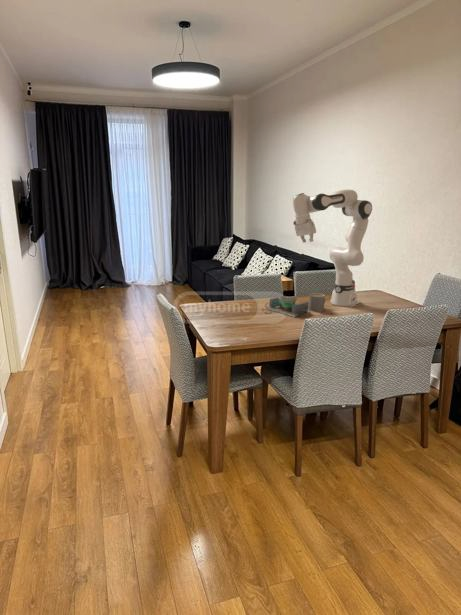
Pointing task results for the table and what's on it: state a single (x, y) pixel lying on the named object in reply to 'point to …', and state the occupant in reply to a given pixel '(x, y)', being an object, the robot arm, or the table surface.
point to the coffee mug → (316, 302)
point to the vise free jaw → (275, 302)
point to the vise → (294, 309)
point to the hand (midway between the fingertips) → (308, 242)
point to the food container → (287, 303)
